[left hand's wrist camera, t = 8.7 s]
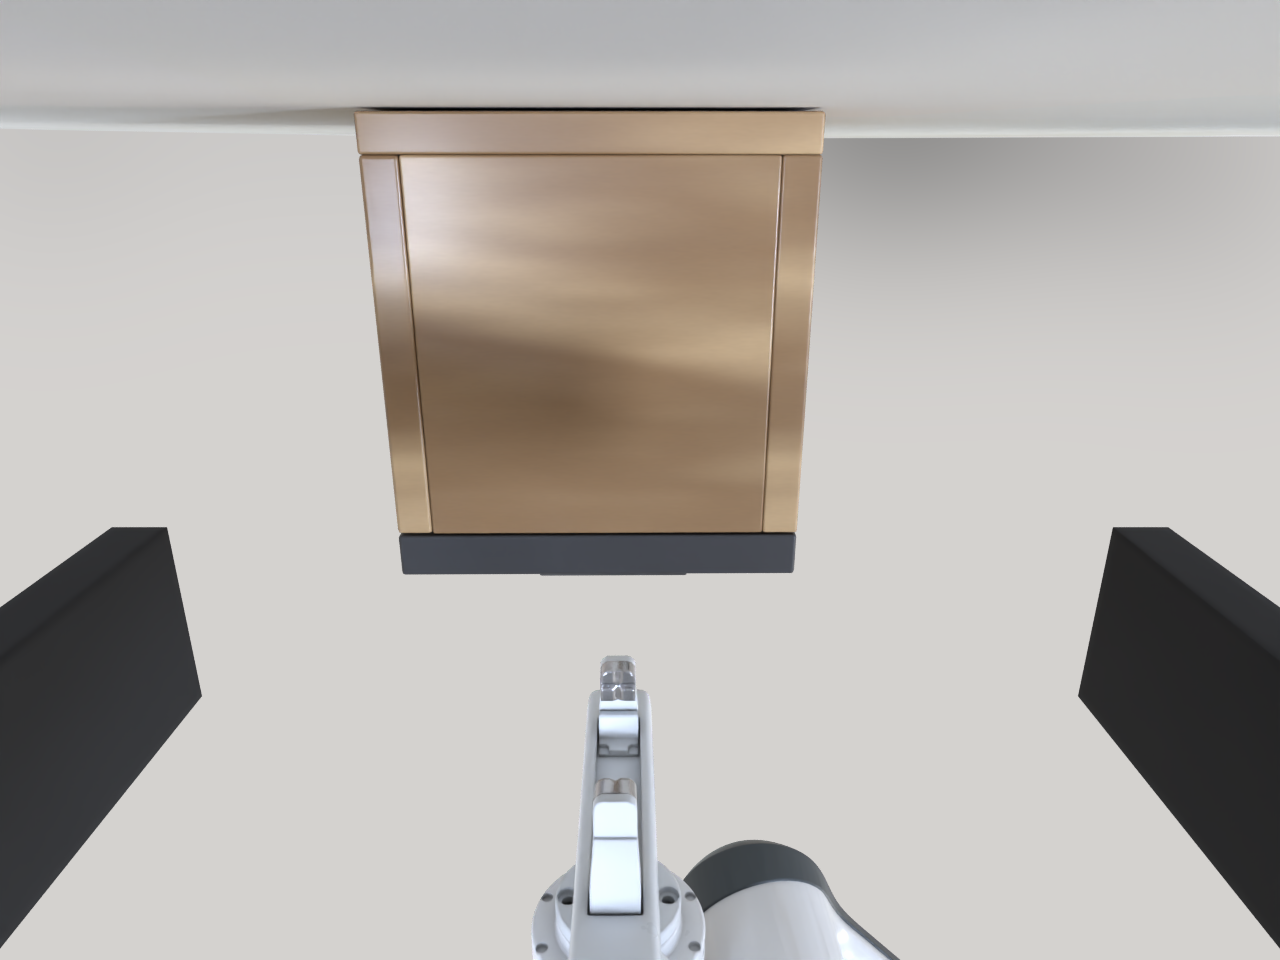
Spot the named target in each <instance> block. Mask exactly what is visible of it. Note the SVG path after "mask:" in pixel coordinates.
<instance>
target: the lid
mask: <svg viewBox="0 0 1280 960" xmlns="http://www.w3.org/2000/svg"><path fill="white" fill-rule="evenodd" d="M399 543H400V553H401V562H402V571H403V574H540V575H686V573H792V572H793V570H794V560H795V545H796V535H795V533H794V532H763V530H762V531H761V532H667V533H434V532H433V531H432V532H430V533H401V535H400V537H399Z"/></svg>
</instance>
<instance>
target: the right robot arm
mask: <svg viewBox="0 0 1280 960" xmlns="http://www.w3.org/2000/svg"><path fill="white" fill-rule="evenodd" d="M635 670H636V668H635V661H634V659H633V658H632V657H630V656H607V657H605V658H603V659H602V661H601V675H600V684H601V690H596V691H594V692H592V693H591V695H590V697H589V701H588V709H587V721H586V734H585V748H584V762H583V775H582V788H581V801H580V815H579V828H578V841H577V855H576V864H575V865H574V866H573V867H572V868H571V869H570V870H568V871H567V873H565V874H564V875H562V876H561V877H560V878H559V879H557V880H556V881H555V882H554V883H553V884H552V885H551V886H550V887H549V888H548V889H547V891H546V892H545V893H544V895H543V896H542V898H541V899H540V901H539V903H538V905H537V907H536V910H535V913H534V916H533V920H532V929H531V936H532V953H533V960H900V959H898V958H897V957H896V956H895V955H894V954H893V953H891V952H890V951H889V950H888V949H887V948H886V947H884V946H883V945H882V944H881V943H880V942H878V941H877V940H876V939H875V938H874V937H873V936H871V935H870V934H869V933H868V932H867V931H865V930H864V929H863V928H862V927H861V926H860V925H858V924H857V923H856V922H855V921H854V920H853V919H852V918H851V917H850V916H849V915H848V914H847V913H846V912H845V911H844V910H843V909H842V908H841V907H840V905H839V904H838V902H837V901H836V899H835V898H834V896H833V894H832V892H831V890H830V888H829V886H828V884H827V882H826V879H825V877H824V876H823V874H822V872H821V871H820V869H819V868H818V866H817V865H816V864H815V863H814V862H813V861H812V860H811V859H810V858H809V857H807V856H806V855H804V854H803V853H801V852H799V851H797V850H795V849H793V848H790V847H788V846H785V845H782V844H778V843H775V842H770V841H763V840H744V841H738V842H734V843H731V844H728V845H725V846H723V847H720V848H719V849H717V850H715V851H713V852H711V853H710V854H708V855H707V856H706V857H704V858H703V859H702V860H701V861H700V862H699V863H697V864H696V866H695V867H693V869H692V870H691V871H690V872H689V873H688V875H687V876H686V877H685V879H684V880H682V879H681V878H680V877H678V876H677V875H676V874H674V873H673V872H671V871H670V870H669V869H668V868H667V867H666V866H664V865H663V864H662V863H661V862H659V861H657V837H656V813H655V787H654V762H653V737H652V712H651V702H650V697H649V695H648V693H647V692H646V691H643V690H636V671H635Z"/></svg>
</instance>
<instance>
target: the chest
mask: <svg viewBox="0 0 1280 960" xmlns="http://www.w3.org/2000/svg"><path fill="white" fill-rule="evenodd" d="M354 120H355V130H356V139H357V148H358V153H359V154H361V156H360V158H359V164H360V173H361V182H362V192H363V201H364V211H365V220H366V230H367V239H368V249H369V258H370V267H371V277H372V286H373V296H374V305H375V314H376V324H377V334H378V343H379V352H380V362H381V371H382V380H383V390H384V400H385V409H386V419H387V428H388V437H389V447H390V456H391V466H392V475H393V485H394V494H395V503H396V513H397V522H398V530H399V532H400V533H430V532H432V531H433V532H434V533H667V532H761V531H762V530H763V532H796V530H797V518H798V503H799V489H800V475H801V460H802V446H803V432H804V417H805V402H806V388H807V374H808V359H809V345H810V331H811V316H812V302H813V287H814V273H815V258H816V244H817V230H818V215H819V201H820V186H821V172H822V156H821V155H820V154H822V152H823V142H824V128H825V112H823V111H355V112H354Z"/></svg>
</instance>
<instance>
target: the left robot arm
mask: <svg viewBox="0 0 1280 960" xmlns="http://www.w3.org/2000/svg"><path fill="white" fill-rule="evenodd" d="M201 697H202V694H201V689H200V685H199V680H198V675H197V670H196V665H195V660H194V656H193V651H192V646H191V641H190V636H189V631H188V627H187V622H186V617H185V612H184V607H183V602H182V598H181V593H180V588H179V583H178V578H177V573H176V569H175V564H174V559H173V554H172V549H171V544H170V540H169V535H168V530H167V527H112V528H110V529H109V530H107V531H106V532H105V533H103V534H102V535H100V536H99V537H98V538H96V539H95V540H94V541H92V542H91V543H89V544H88V545H87V546H85V547H84V548H82V549H81V550H80V551H78V552H77V553H75V554H74V555H73V556H71V557H70V558H68V559H67V560H66V561H64V562H63V563H61V564H60V565H59V566H57V567H56V568H54V569H53V570H52V571H50V572H49V573H48V574H46V575H45V576H43V577H42V578H41V579H39V580H38V581H36V582H35V583H34V584H32V585H31V586H29V587H28V588H27V589H25V590H24V591H22V592H21V593H20V594H18V595H17V596H15V597H14V598H13V599H11V600H10V601H8V602H7V603H6V604H4V605H3V606H2V607H0V948H1V947H2V945H3V944H4V943H5V942H6V940H7V939H8V938H9V937H10V935H11V934H12V933H13V932H14V930H15V929H16V928H17V927H18V925H19V924H20V923H21V922H22V920H23V919H24V918H25V917H26V915H27V914H28V913H29V912H30V910H31V909H32V908H33V907H34V905H35V904H36V903H37V902H38V900H39V899H40V898H41V897H42V895H43V894H44V893H45V892H46V890H47V889H48V888H49V887H50V885H51V884H52V883H53V882H54V880H55V879H56V878H57V877H58V875H59V874H60V873H61V872H62V870H63V869H64V868H65V867H66V865H67V864H68V863H69V862H70V860H71V859H72V858H73V857H74V855H75V854H76V853H77V852H78V850H79V849H80V848H81V847H82V845H83V844H84V843H85V842H86V840H87V839H88V838H89V837H90V835H91V834H92V833H93V832H94V830H95V829H96V828H97V827H98V825H99V824H100V823H101V822H102V820H103V819H104V818H105V817H106V815H107V814H108V813H109V812H110V810H111V809H112V808H113V807H114V805H115V804H116V803H117V802H118V800H119V799H120V798H121V797H122V795H123V794H124V793H125V792H126V790H127V789H128V788H129V787H130V785H131V784H132V783H133V782H134V780H135V779H136V778H137V777H138V775H139V774H140V773H141V772H142V770H143V769H144V768H145V767H146V765H147V764H148V763H149V762H150V760H151V759H152V758H153V757H154V755H155V754H156V753H157V752H158V750H159V749H160V748H161V747H162V745H163V744H164V743H165V742H166V740H167V739H168V738H169V737H170V735H171V734H172V733H173V732H174V730H175V729H176V728H177V727H178V725H179V724H180V723H181V722H182V720H183V719H184V718H185V716H186V715H187V714H188V713H189V712H190V710H191V709H192V708H193V707H194V705H195V704H196V703H197V702H198V700H199V699H200V698H201ZM1078 697H1079V698H1080V699H1081V700H1082V702H1083V703H1084V704H1085V705H1086V707H1087V708H1088V709H1089V710H1090V712H1091V713H1092V714H1093V715H1094V717H1095V718H1096V719H1097V720H1098V722H1099V723H1100V724H1101V725H1102V727H1103V728H1104V729H1105V730H1106V732H1107V733H1108V734H1109V735H1110V737H1111V738H1112V739H1113V740H1114V742H1115V743H1116V744H1117V745H1118V747H1119V748H1120V749H1121V750H1122V752H1123V753H1124V754H1125V755H1126V757H1127V758H1128V759H1129V760H1130V762H1131V763H1132V764H1133V765H1134V767H1135V768H1136V769H1137V770H1138V772H1139V773H1140V774H1141V775H1142V777H1143V778H1144V779H1145V780H1146V782H1147V783H1148V784H1149V785H1150V787H1151V788H1152V789H1153V790H1154V792H1155V793H1156V794H1157V795H1158V797H1159V798H1160V799H1161V800H1162V802H1163V803H1164V804H1165V805H1166V807H1167V808H1168V809H1169V810H1170V812H1171V813H1172V814H1173V815H1174V817H1175V818H1176V819H1177V820H1178V822H1179V823H1180V824H1181V825H1182V827H1183V828H1184V829H1185V830H1186V832H1187V833H1188V834H1189V835H1190V837H1191V838H1192V839H1193V840H1194V842H1195V843H1196V844H1197V845H1198V847H1199V848H1200V849H1201V850H1202V852H1203V853H1204V854H1205V855H1206V857H1207V858H1208V859H1209V860H1210V862H1211V863H1212V864H1213V865H1214V867H1215V868H1216V869H1217V870H1218V872H1219V873H1220V874H1221V875H1222V877H1223V878H1224V879H1225V880H1226V882H1227V883H1228V884H1229V885H1230V887H1231V888H1232V889H1233V890H1234V892H1235V893H1236V894H1237V895H1238V897H1239V898H1240V899H1241V900H1242V902H1243V903H1244V904H1245V905H1246V907H1247V908H1248V909H1249V910H1250V912H1251V913H1252V914H1253V915H1254V917H1255V918H1256V919H1257V920H1258V922H1259V923H1260V924H1261V925H1262V927H1263V928H1264V929H1265V930H1266V932H1267V933H1268V934H1269V935H1270V937H1271V938H1272V939H1273V940H1274V942H1275V943H1276V944H1277V945H1278V947H1279V948H1280V607H1278V606H1277V605H1276V604H1274V603H1273V602H1272V601H1270V600H1269V599H1267V598H1266V597H1265V596H1263V595H1262V594H1260V593H1259V592H1258V591H1256V590H1255V589H1253V588H1252V587H1250V586H1249V585H1248V584H1246V583H1245V582H1244V581H1242V580H1241V579H1239V578H1238V577H1237V576H1235V575H1234V574H1232V573H1231V572H1230V571H1228V570H1227V569H1226V568H1224V567H1223V566H1221V565H1220V564H1219V563H1217V562H1216V561H1214V560H1213V559H1212V558H1210V557H1209V556H1207V555H1206V554H1205V553H1203V552H1202V551H1200V550H1199V549H1198V548H1196V547H1195V546H1193V545H1192V544H1191V543H1189V542H1188V541H1186V540H1185V539H1184V538H1182V537H1181V536H1180V535H1178V534H1177V533H1175V532H1174V531H1173V530H1171V529H1170V528H1168V527H1113V530H1112V535H1111V540H1110V545H1109V549H1108V554H1107V559H1106V564H1105V569H1104V573H1103V578H1102V583H1101V588H1100V593H1099V598H1098V602H1097V607H1096V612H1095V617H1094V622H1093V627H1092V631H1091V636H1090V641H1089V646H1088V651H1087V656H1086V661H1085V665H1084V670H1083V675H1082V680H1081V685H1080V689H1079V694H1078Z"/></svg>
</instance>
